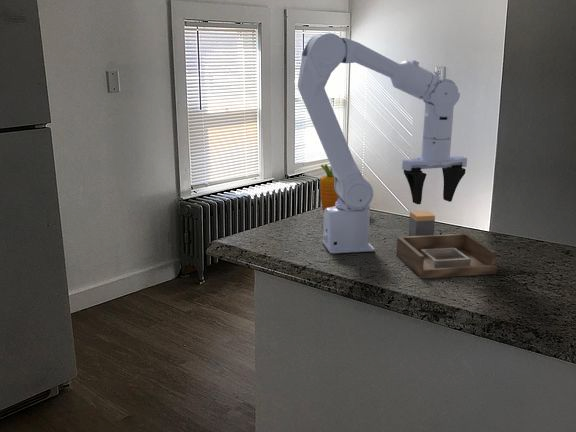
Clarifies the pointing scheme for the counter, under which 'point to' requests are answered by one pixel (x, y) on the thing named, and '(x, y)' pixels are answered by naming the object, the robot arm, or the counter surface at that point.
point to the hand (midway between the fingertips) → (432, 201)
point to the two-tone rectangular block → (421, 223)
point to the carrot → (327, 189)
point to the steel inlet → (458, 262)
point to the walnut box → (464, 243)
